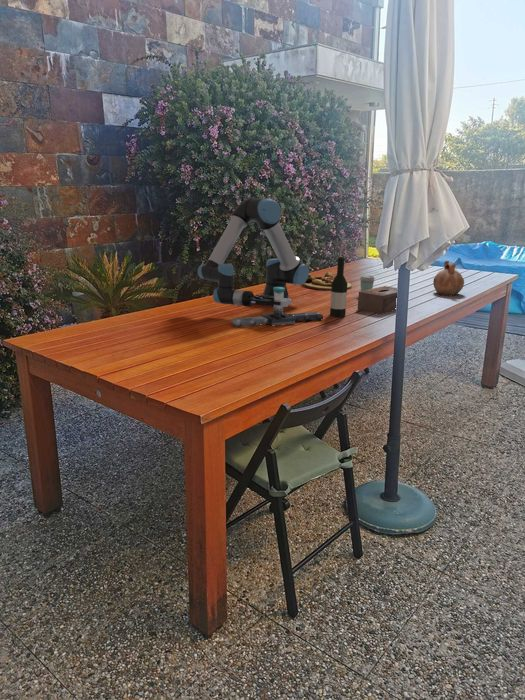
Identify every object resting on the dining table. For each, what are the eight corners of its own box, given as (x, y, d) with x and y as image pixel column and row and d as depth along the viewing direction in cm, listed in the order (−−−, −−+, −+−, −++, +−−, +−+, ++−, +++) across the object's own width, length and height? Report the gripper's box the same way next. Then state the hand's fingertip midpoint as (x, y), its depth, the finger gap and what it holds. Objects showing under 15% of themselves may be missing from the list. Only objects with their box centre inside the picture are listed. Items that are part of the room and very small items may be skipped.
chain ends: (228, 323, 267) (229, 317, 266) (314, 315, 285) (314, 310, 284) (238, 329, 256) (238, 323, 255) (325, 321, 274) (326, 315, 273)
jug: (466, 297, 340) (471, 264, 334) (436, 296, 340) (440, 263, 334) (457, 291, 358) (461, 259, 352) (428, 290, 358) (432, 259, 352)
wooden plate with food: (296, 288, 355) (297, 275, 353) (308, 280, 384) (308, 268, 382) (346, 294, 346) (348, 280, 344) (354, 284, 375) (355, 272, 373)
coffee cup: (373, 298, 331) (374, 278, 327) (358, 297, 332) (359, 277, 329) (373, 295, 339) (374, 275, 335) (359, 294, 340) (360, 274, 337)
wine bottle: (333, 317, 282) (336, 257, 273) (326, 313, 290) (330, 255, 281) (348, 317, 284) (352, 257, 275) (341, 313, 292) (345, 255, 283)
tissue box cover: (380, 314, 292) (382, 295, 289) (357, 310, 301) (358, 291, 298) (405, 307, 310) (407, 289, 307) (383, 303, 319) (384, 285, 316)
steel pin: (270, 318, 271) (271, 287, 267) (280, 317, 273) (281, 286, 269) (275, 320, 267) (276, 289, 262) (285, 320, 269) (286, 288, 264)
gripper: (250, 302, 283) (294, 307, 275) (236, 309, 267) (282, 314, 259) (250, 287, 280) (295, 292, 273) (236, 293, 265) (283, 298, 257)
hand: (289, 302), depth 266 cm, fingers closed on steel pin, 4 cm apart
